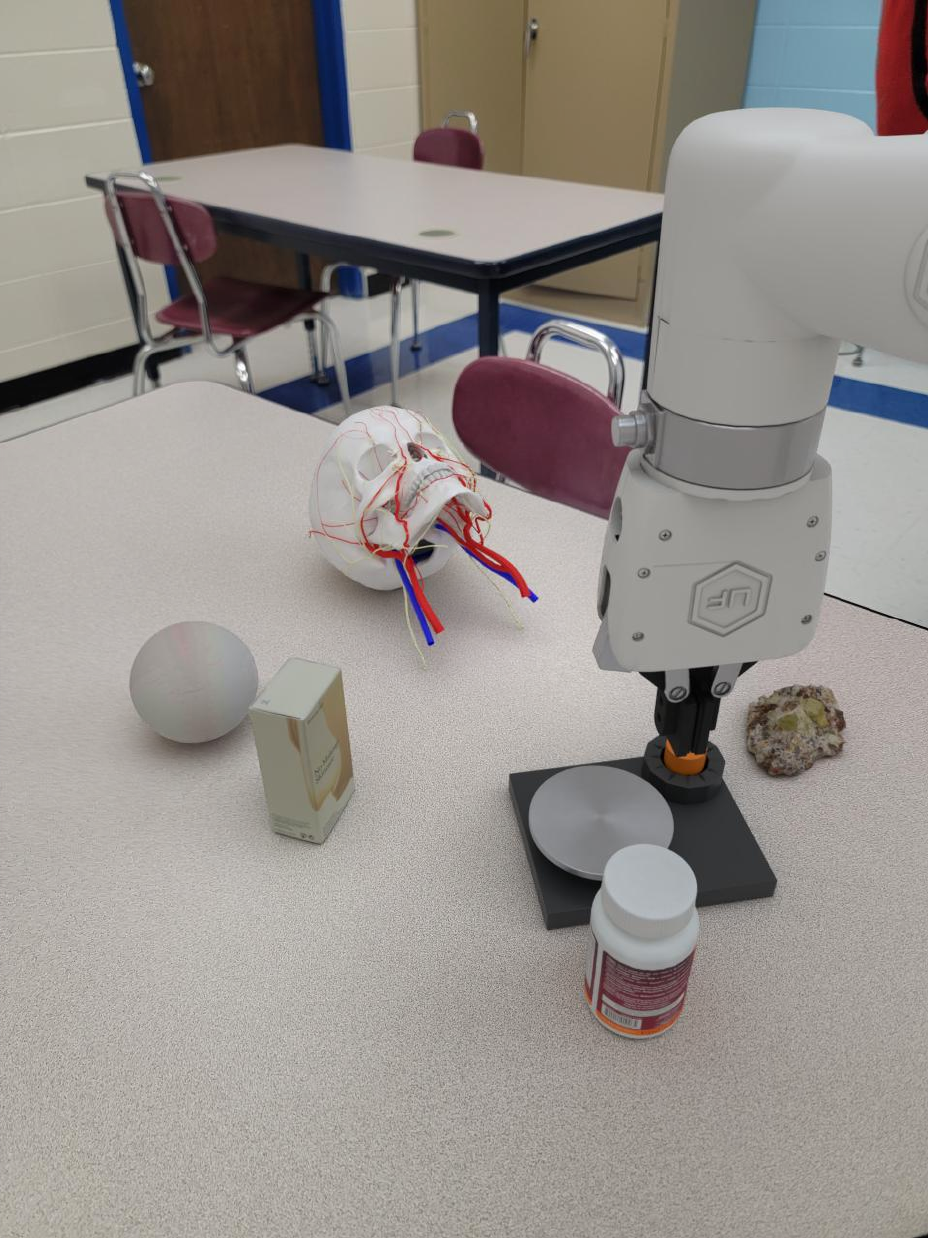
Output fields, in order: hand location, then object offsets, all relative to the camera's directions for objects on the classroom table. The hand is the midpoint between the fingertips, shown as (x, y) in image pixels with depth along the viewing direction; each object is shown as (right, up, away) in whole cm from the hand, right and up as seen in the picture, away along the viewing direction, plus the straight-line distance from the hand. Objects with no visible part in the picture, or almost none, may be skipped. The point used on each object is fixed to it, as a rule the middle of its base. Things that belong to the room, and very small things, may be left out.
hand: (681, 738), depth 50 cm
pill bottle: (-2, -17, +6) cm, 18 cm away
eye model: (-34, -3, +27) cm, 44 cm away
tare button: (+4, -4, +18) cm, 19 cm away
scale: (0, -10, +16) cm, 19 cm away
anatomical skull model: (-17, +9, +42) cm, 46 cm away
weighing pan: (-3, -8, +13) cm, 15 cm away
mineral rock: (+15, -3, +24) cm, 29 cm away
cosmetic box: (-24, -8, +19) cm, 31 cm away
